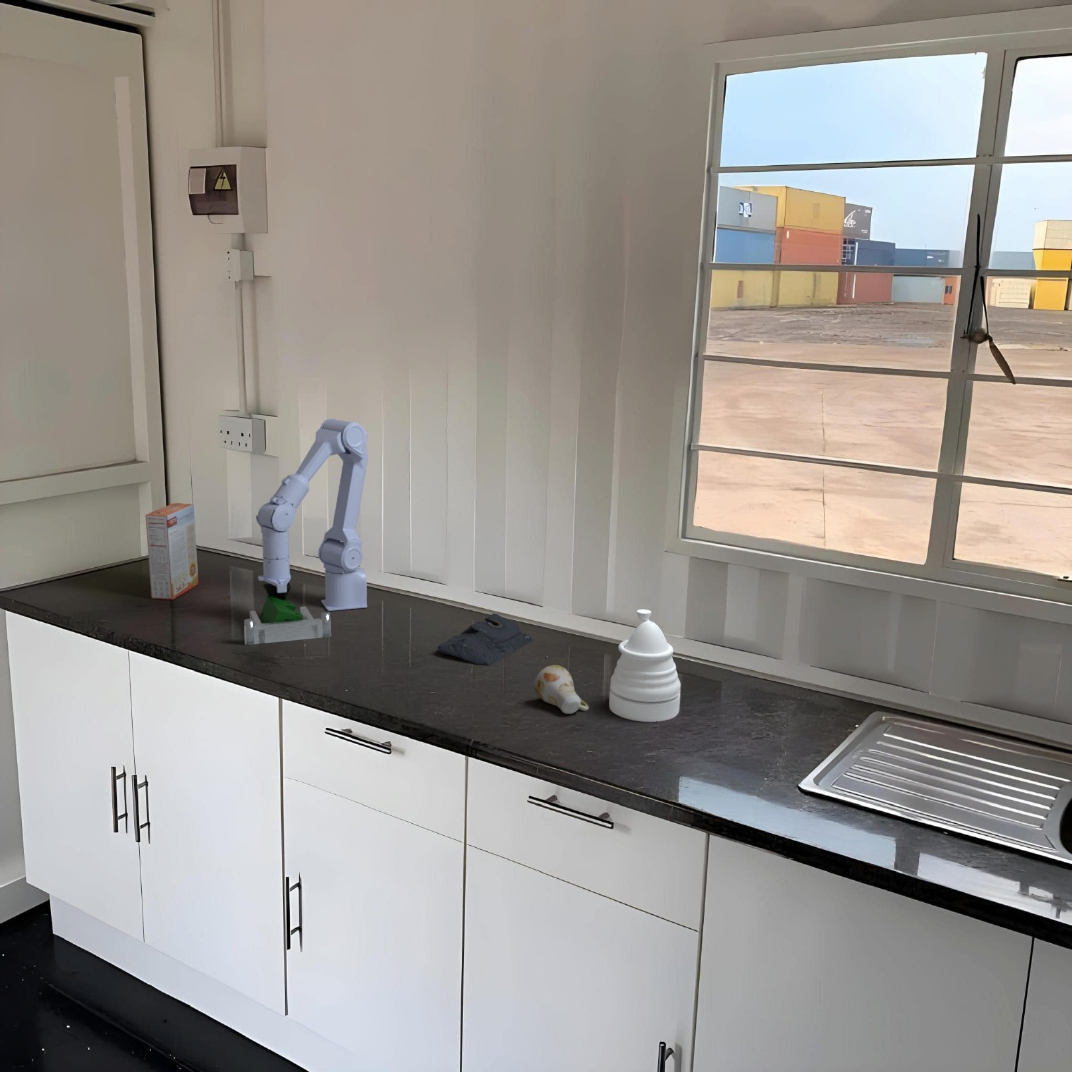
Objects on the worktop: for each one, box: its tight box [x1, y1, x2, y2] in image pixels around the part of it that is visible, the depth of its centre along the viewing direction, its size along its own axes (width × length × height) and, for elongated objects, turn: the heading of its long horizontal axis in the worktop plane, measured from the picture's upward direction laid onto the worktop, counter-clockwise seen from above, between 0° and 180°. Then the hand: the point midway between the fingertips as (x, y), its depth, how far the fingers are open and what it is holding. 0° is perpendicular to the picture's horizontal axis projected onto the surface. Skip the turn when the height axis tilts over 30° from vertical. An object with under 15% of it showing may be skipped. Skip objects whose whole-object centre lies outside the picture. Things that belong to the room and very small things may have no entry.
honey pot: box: [608, 608, 682, 723], centre depth 189 cm, size 13×13×18 cm
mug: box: [533, 664, 590, 715], centre depth 190 cm, size 8×10×10 cm
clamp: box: [259, 595, 303, 624], centre depth 227 cm, size 12×6×9 cm
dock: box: [243, 606, 332, 646], centre depth 226 cm, size 18×14×5 cm
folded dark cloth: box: [437, 613, 533, 666], centre depth 221 cm, size 15×22×5 cm
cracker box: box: [145, 502, 199, 601], centre depth 251 cm, size 14×6×21 cm, turn 172°
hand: (277, 615), depth 234 cm, fingers closed
